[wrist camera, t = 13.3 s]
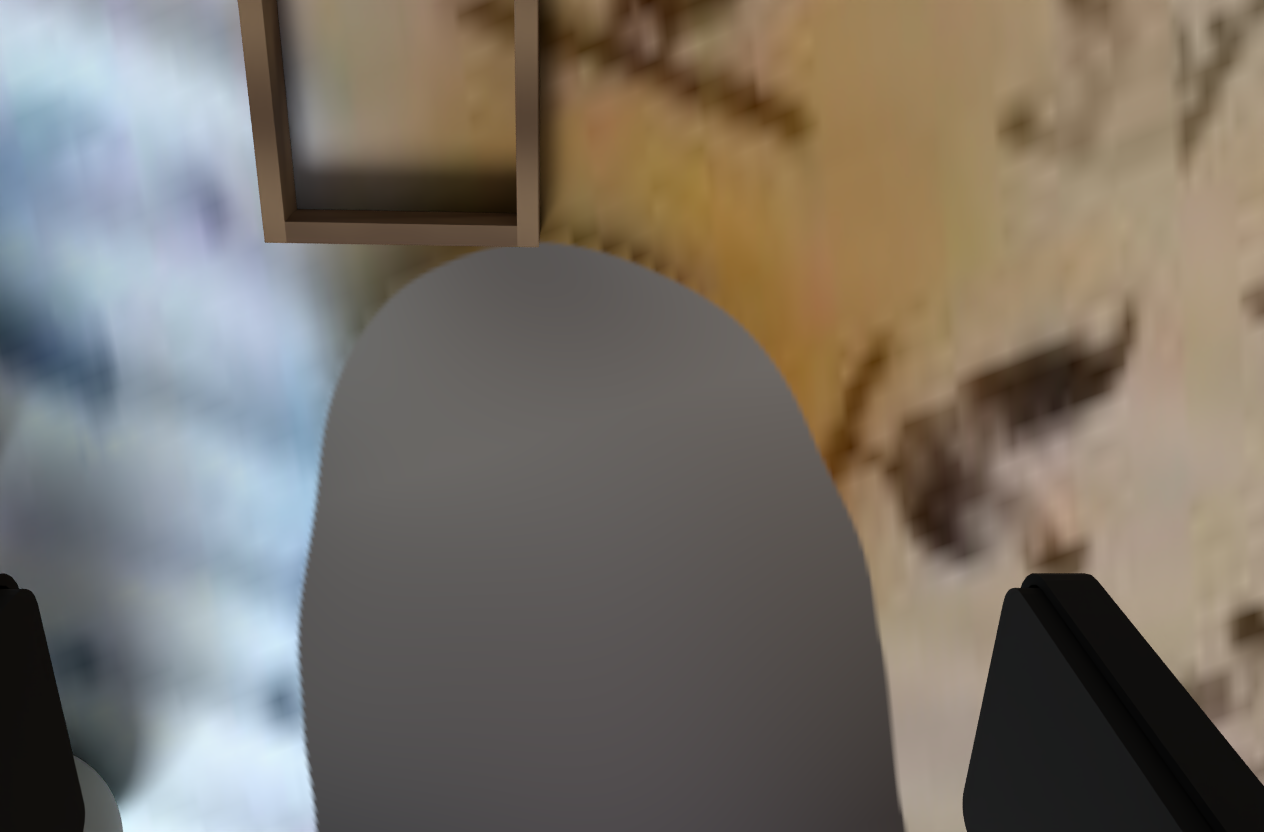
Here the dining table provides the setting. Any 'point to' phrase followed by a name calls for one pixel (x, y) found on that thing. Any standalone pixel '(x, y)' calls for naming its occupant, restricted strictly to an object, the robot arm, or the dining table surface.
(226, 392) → the dining table surface
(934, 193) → the dining table surface
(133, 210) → the dining table surface
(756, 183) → the dining table surface
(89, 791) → the grey bottle
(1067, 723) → the robot arm
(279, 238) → the collar
